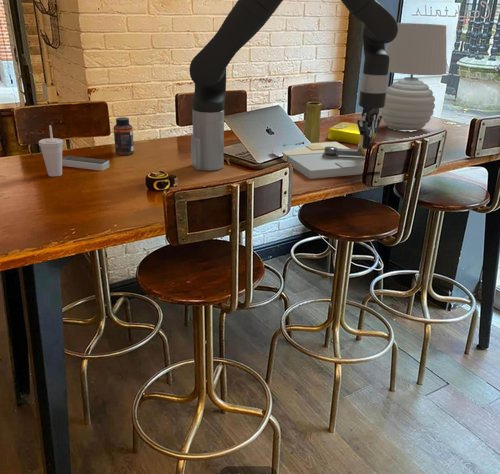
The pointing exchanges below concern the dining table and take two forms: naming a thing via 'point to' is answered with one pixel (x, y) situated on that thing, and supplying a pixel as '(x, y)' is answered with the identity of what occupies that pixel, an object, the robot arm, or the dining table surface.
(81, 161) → the multiport hub
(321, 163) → the grey flat slab
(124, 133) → the supplement bottle
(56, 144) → the smoothie
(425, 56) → the table lamp
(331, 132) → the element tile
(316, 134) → the vase
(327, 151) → the latch arm
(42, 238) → the dining table surface
